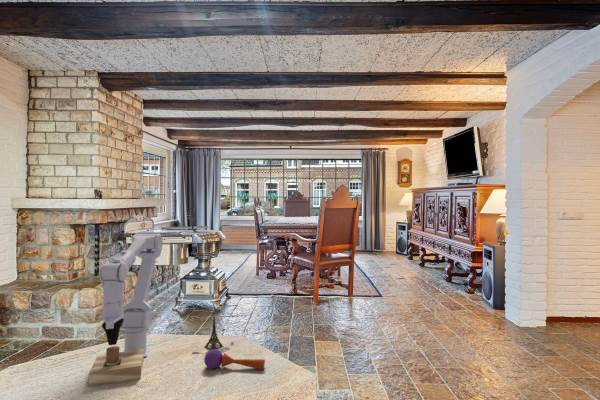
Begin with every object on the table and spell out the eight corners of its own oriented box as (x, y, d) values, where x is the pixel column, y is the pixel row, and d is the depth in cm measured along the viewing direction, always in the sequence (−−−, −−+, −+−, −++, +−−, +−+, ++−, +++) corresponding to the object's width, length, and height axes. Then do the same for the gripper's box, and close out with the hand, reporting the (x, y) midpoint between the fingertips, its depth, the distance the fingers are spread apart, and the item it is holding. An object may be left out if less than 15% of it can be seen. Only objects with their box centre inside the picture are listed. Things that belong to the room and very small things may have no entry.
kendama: (262, 362, 113) (202, 355, 114) (261, 378, 114) (201, 371, 115) (265, 351, 119) (208, 344, 120) (264, 366, 120) (207, 360, 121)
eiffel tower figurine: (190, 355, 127) (190, 318, 127) (195, 344, 137) (195, 310, 137) (232, 353, 129) (232, 317, 129) (233, 342, 139) (234, 309, 139)
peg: (107, 371, 112) (108, 346, 112) (120, 370, 113) (120, 345, 113) (104, 377, 109) (104, 351, 109) (117, 376, 110) (117, 350, 110)
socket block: (97, 366, 117) (97, 354, 117) (143, 360, 121) (143, 349, 121) (89, 386, 104) (89, 372, 104) (140, 378, 109) (140, 365, 109)
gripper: (103, 296, 117) (102, 337, 116) (94, 309, 103) (93, 355, 103) (126, 294, 119) (126, 334, 119) (121, 306, 105) (120, 352, 105)
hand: (112, 344), depth 111 cm, fingers closed
